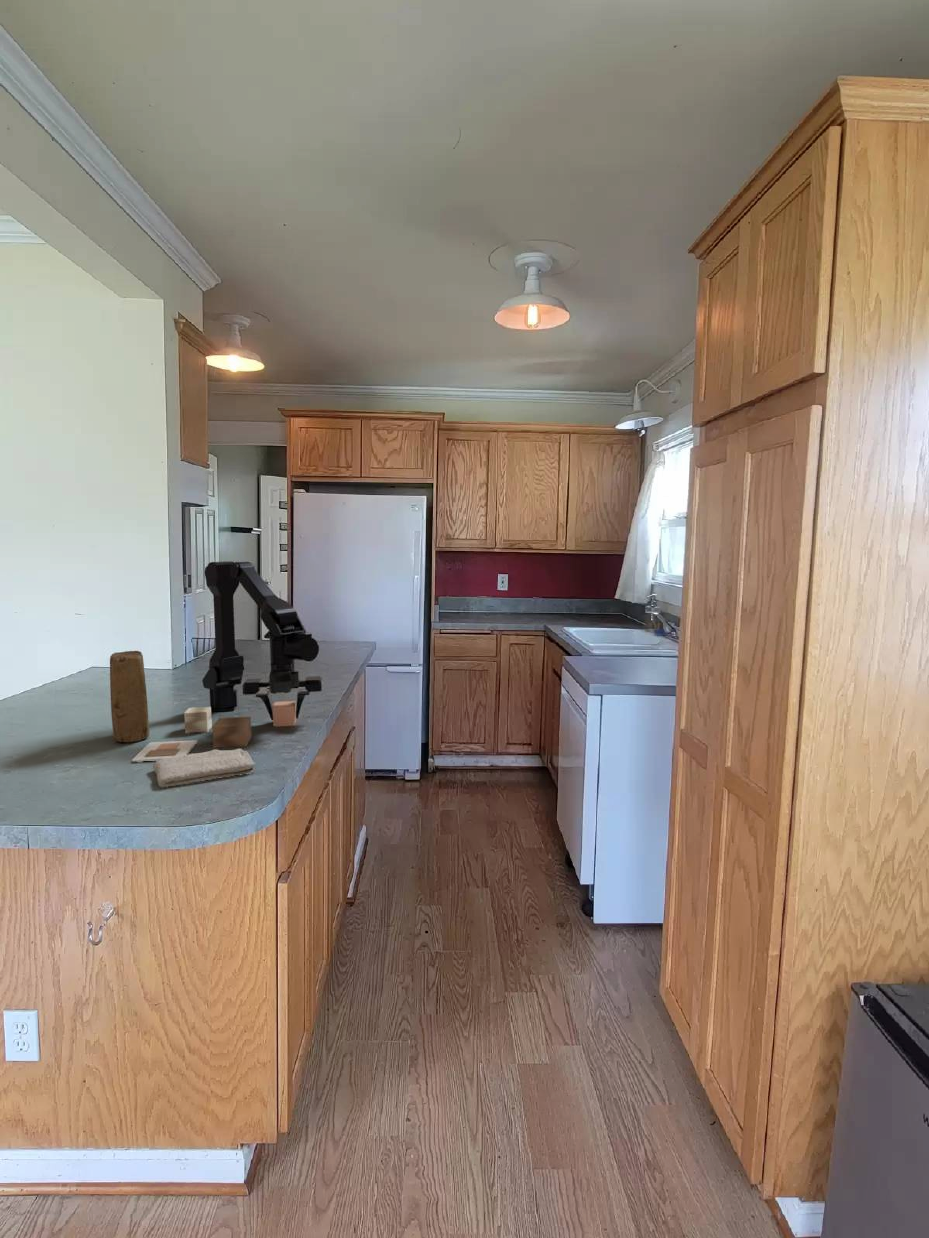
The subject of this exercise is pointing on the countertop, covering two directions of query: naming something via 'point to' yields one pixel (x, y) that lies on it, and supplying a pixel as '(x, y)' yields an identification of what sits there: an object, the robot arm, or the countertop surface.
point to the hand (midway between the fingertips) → (284, 719)
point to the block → (128, 697)
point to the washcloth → (202, 766)
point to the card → (165, 750)
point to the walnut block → (231, 732)
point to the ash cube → (198, 719)
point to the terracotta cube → (284, 713)
